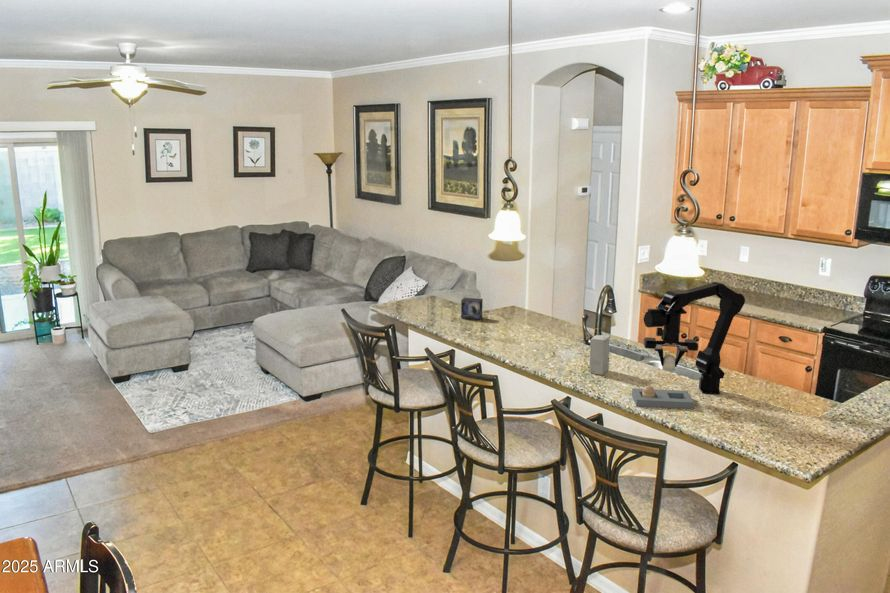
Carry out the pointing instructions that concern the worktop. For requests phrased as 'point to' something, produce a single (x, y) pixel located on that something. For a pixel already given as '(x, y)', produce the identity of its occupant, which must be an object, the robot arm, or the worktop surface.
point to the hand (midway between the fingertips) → (668, 366)
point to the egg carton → (662, 398)
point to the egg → (668, 363)
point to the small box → (471, 308)
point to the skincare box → (599, 354)
